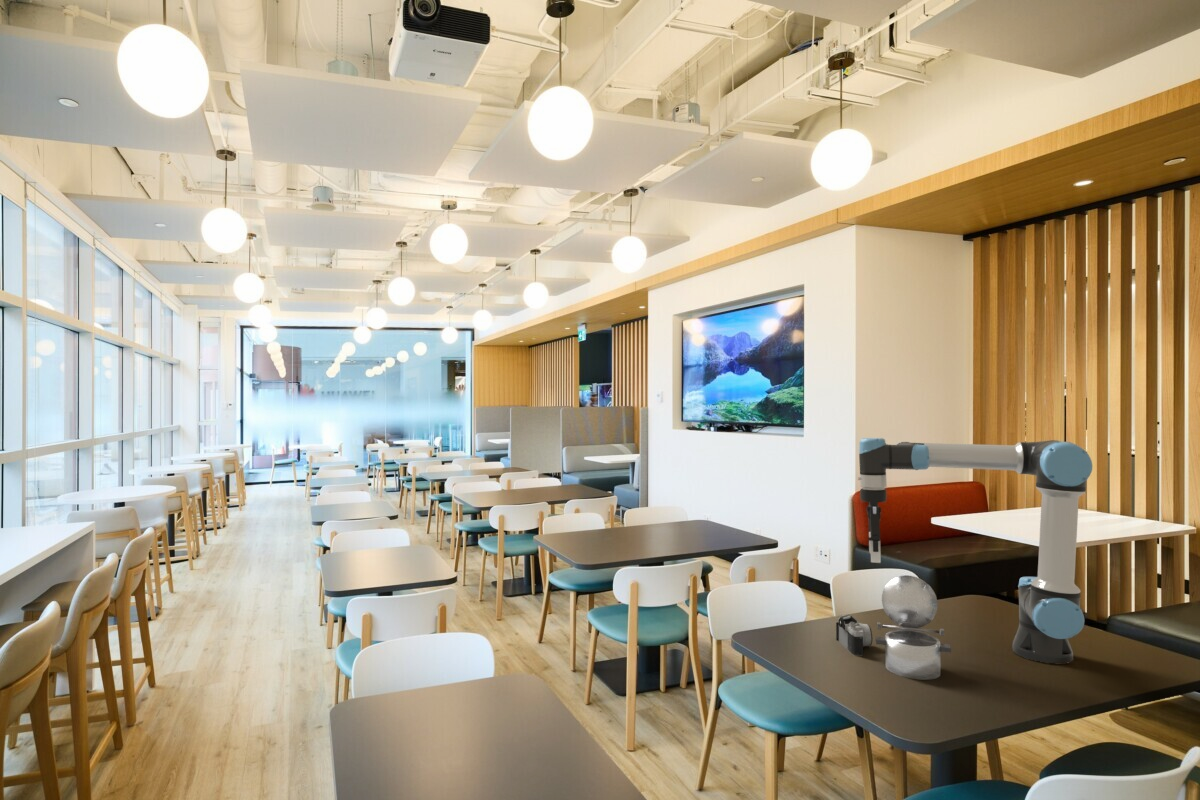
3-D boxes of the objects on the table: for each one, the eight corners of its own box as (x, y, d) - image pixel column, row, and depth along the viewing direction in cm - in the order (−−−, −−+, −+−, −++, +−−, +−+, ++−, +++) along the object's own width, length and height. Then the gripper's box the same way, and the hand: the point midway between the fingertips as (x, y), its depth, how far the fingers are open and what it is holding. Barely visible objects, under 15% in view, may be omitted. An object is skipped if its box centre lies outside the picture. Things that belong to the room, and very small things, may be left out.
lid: (937, 577, 197) (936, 577, 199) (881, 573, 202) (880, 573, 204) (939, 633, 193) (938, 633, 195) (881, 627, 198) (881, 627, 201)
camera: (879, 658, 199) (879, 624, 199) (849, 658, 199) (849, 624, 199) (860, 639, 214) (860, 608, 214) (832, 639, 215) (832, 608, 215)
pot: (954, 685, 179) (953, 647, 179) (877, 676, 185) (876, 638, 185) (946, 664, 193) (945, 629, 193) (875, 656, 200) (874, 621, 200)
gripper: (859, 483, 219) (860, 548, 219) (861, 492, 196) (862, 565, 195) (884, 484, 216) (885, 550, 216) (888, 493, 193) (890, 567, 193)
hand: (874, 557), depth 206 cm, fingers open, 13 cm apart
